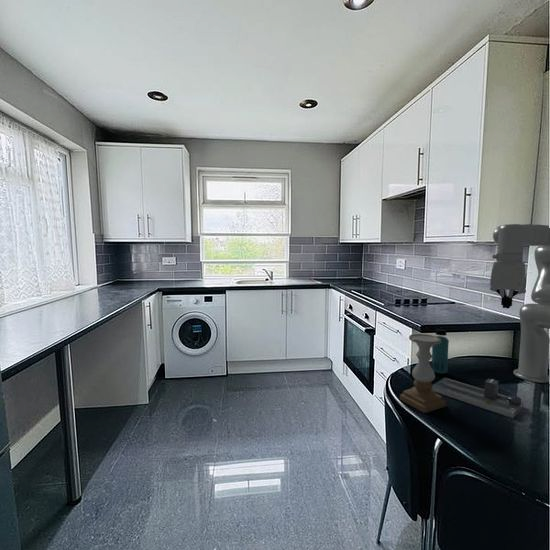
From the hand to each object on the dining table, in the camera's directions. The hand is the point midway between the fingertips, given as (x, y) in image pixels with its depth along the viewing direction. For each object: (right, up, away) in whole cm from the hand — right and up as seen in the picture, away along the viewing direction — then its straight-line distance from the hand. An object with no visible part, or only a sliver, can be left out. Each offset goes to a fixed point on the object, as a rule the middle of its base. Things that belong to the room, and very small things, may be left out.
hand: (506, 307), depth 116 cm
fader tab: (-9, -32, -5) cm, 33 cm away
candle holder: (-33, -34, -4) cm, 48 cm away
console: (-12, -33, -1) cm, 36 cm away
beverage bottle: (-14, -32, +21) cm, 40 cm away
